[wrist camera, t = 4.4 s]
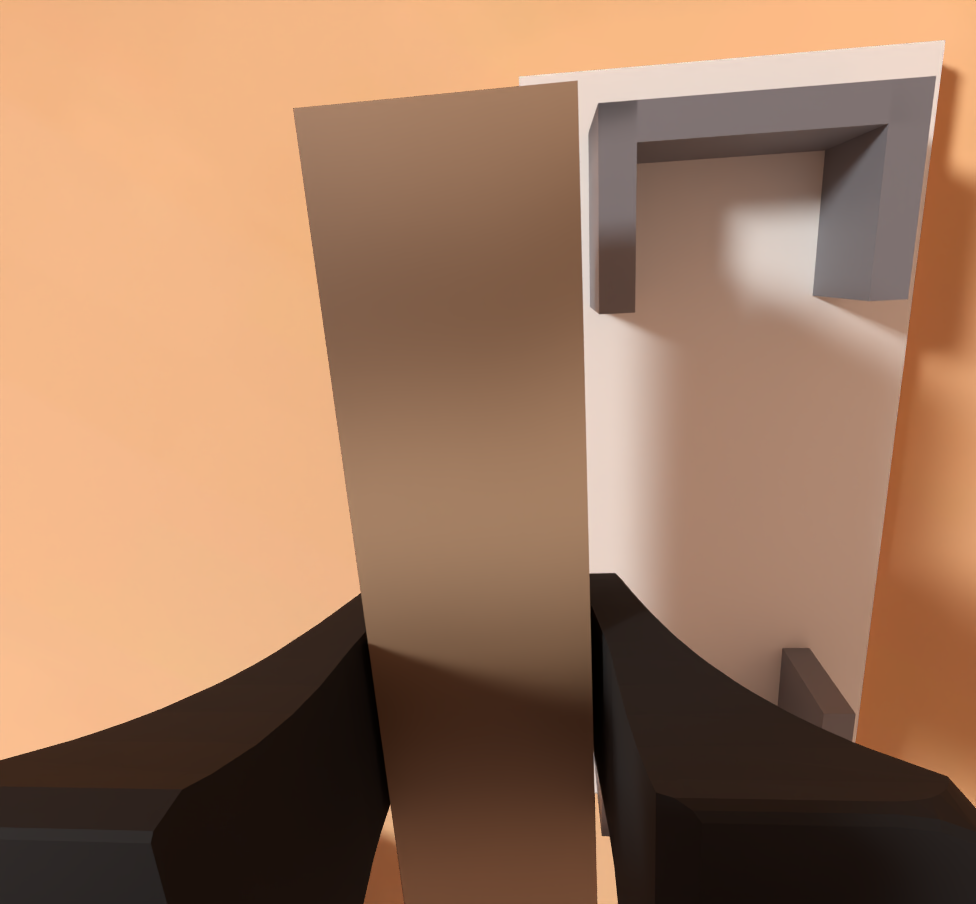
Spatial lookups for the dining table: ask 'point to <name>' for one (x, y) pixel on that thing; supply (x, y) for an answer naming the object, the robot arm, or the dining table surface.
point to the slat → (466, 472)
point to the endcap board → (751, 348)
